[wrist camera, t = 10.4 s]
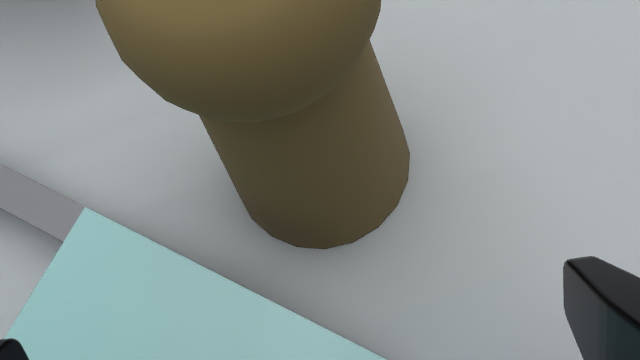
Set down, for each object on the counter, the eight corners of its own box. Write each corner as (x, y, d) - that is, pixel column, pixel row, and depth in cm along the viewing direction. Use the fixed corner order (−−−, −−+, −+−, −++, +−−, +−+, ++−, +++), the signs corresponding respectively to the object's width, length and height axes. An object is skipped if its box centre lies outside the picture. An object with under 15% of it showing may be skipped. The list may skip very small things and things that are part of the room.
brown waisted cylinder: (400, 74, 19) (387, -263, 9) (419, 241, 17) (428, 47, 7) (236, 94, 20) (53, -195, 10) (235, 256, 18) (1, 101, 8)
